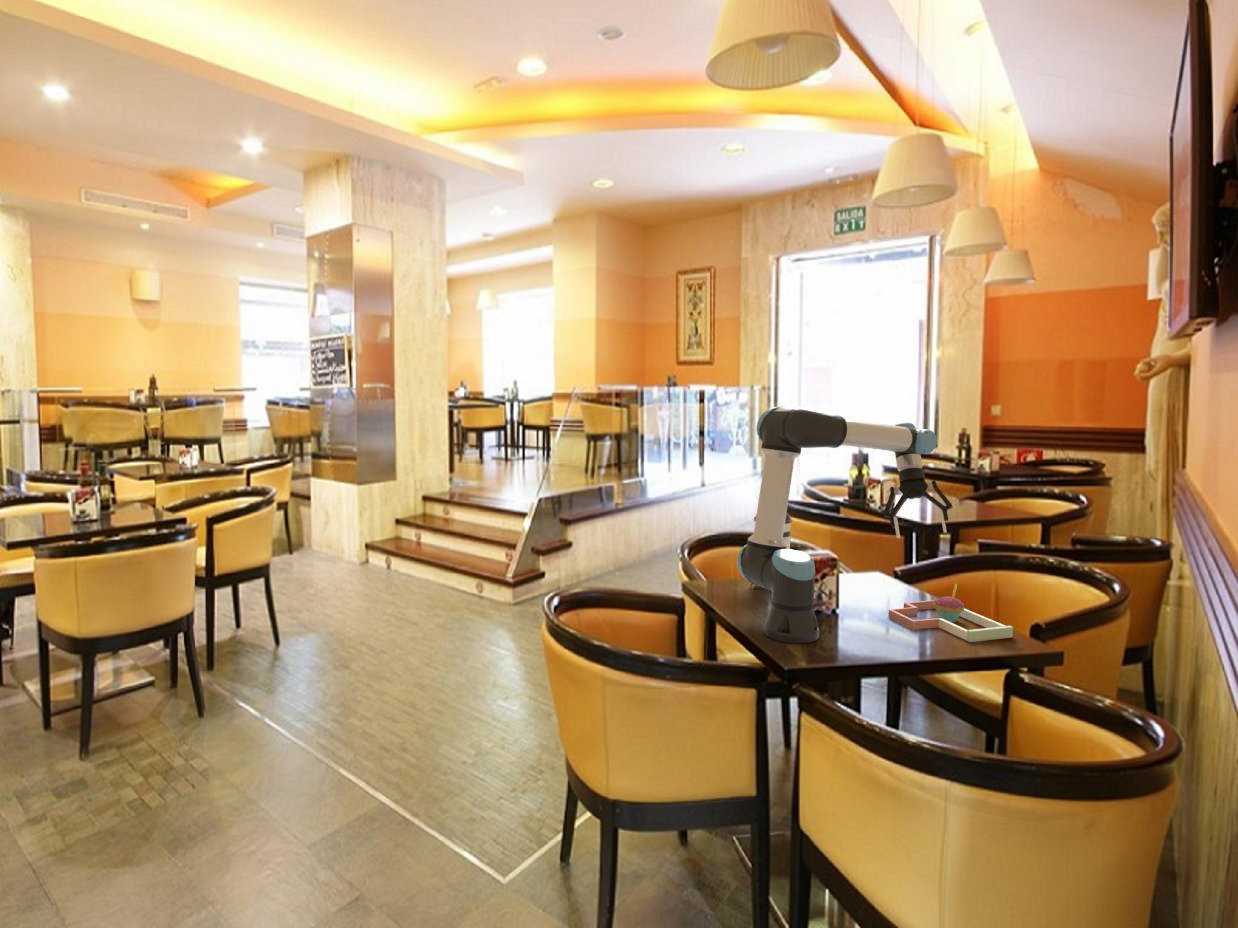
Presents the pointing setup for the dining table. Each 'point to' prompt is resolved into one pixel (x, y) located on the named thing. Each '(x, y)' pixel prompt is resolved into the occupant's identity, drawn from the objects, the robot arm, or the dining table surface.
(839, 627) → the dining table surface
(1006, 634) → the track
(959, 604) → the cupcake
